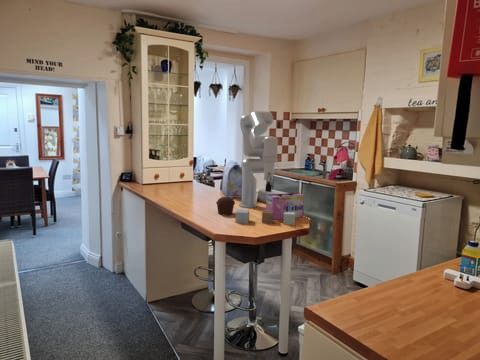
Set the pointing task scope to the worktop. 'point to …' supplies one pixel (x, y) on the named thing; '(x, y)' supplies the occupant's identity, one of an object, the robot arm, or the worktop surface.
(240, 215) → the base block
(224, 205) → the muffin
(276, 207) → the gum box
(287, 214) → the sage block
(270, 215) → the walnut block
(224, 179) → the lunch bag
